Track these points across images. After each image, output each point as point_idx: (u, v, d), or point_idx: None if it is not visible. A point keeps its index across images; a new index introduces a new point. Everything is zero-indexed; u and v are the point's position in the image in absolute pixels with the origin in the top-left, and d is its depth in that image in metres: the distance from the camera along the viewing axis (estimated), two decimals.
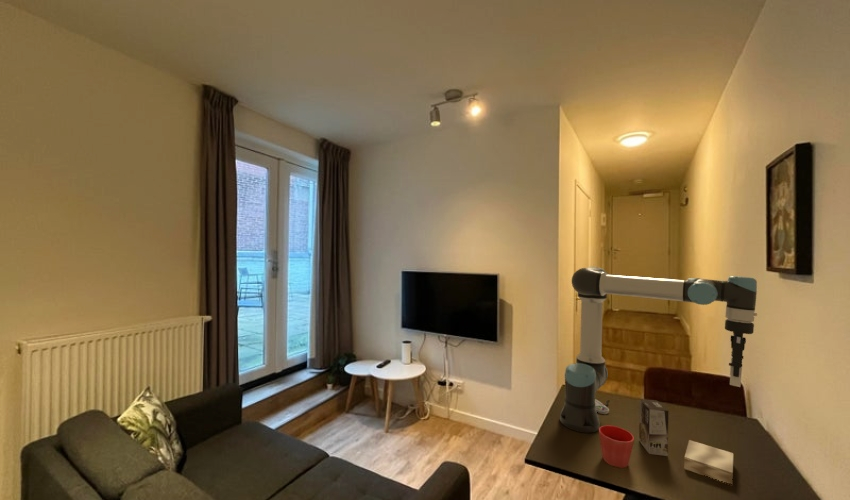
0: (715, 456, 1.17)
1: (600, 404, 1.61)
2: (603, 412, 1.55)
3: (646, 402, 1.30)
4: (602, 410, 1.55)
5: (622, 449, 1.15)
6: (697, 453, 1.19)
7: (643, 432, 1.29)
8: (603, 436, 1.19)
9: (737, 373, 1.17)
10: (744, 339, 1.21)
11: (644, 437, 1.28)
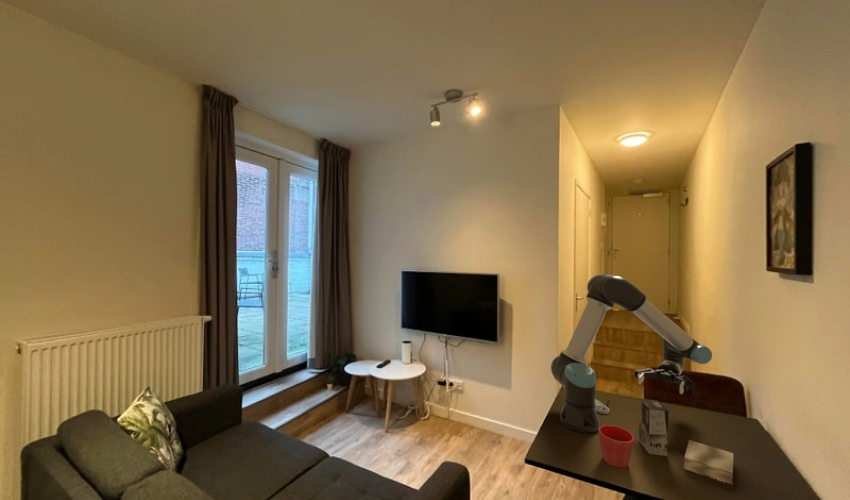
0: (715, 456, 1.17)
1: (600, 404, 1.61)
2: (603, 412, 1.55)
3: (646, 402, 1.30)
4: (602, 410, 1.55)
5: (622, 449, 1.15)
6: (697, 453, 1.19)
7: (643, 432, 1.29)
8: (603, 436, 1.19)
9: (687, 388, 1.33)
10: None
11: (644, 437, 1.28)
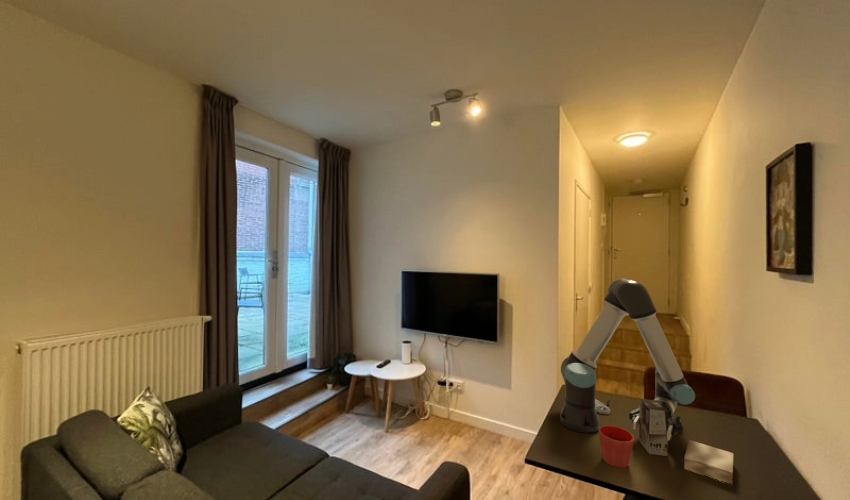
0: (715, 456, 1.17)
1: (601, 404, 1.61)
2: (604, 412, 1.54)
3: (646, 402, 1.30)
4: (603, 410, 1.55)
5: (622, 449, 1.15)
6: (697, 453, 1.19)
7: (643, 432, 1.29)
8: (603, 436, 1.19)
9: (675, 433, 1.24)
10: None
11: (644, 437, 1.28)
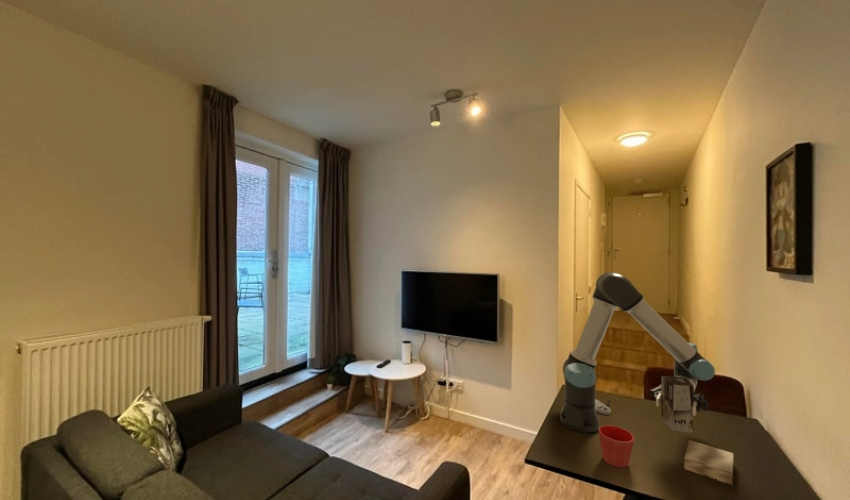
0: (715, 456, 1.17)
1: (601, 404, 1.61)
2: (605, 412, 1.54)
3: (669, 378, 1.26)
4: (604, 410, 1.55)
5: (622, 449, 1.15)
6: (697, 453, 1.19)
7: (666, 409, 1.25)
8: (603, 436, 1.19)
9: (700, 409, 1.20)
10: None
11: (667, 414, 1.24)
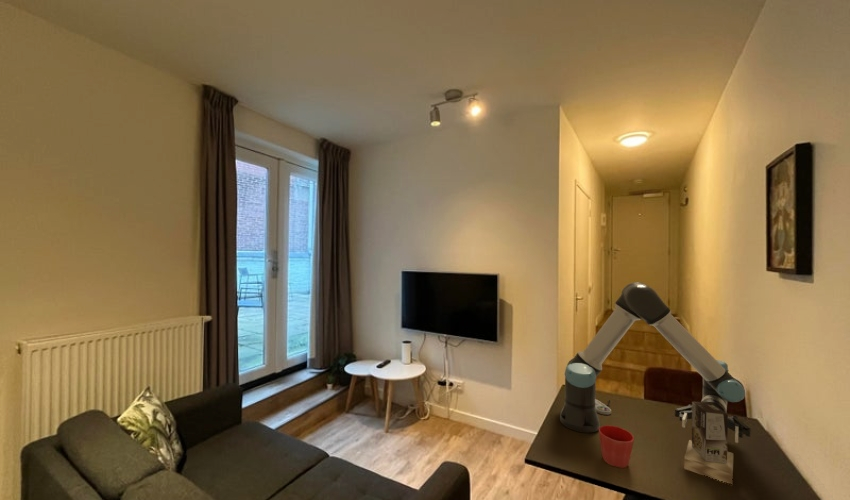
0: None
1: (602, 404, 1.61)
2: (605, 413, 1.54)
3: (701, 404, 1.20)
4: (604, 411, 1.55)
5: (622, 449, 1.15)
6: (697, 453, 1.19)
7: (697, 437, 1.19)
8: (603, 436, 1.19)
9: None
10: None
11: (699, 443, 1.18)
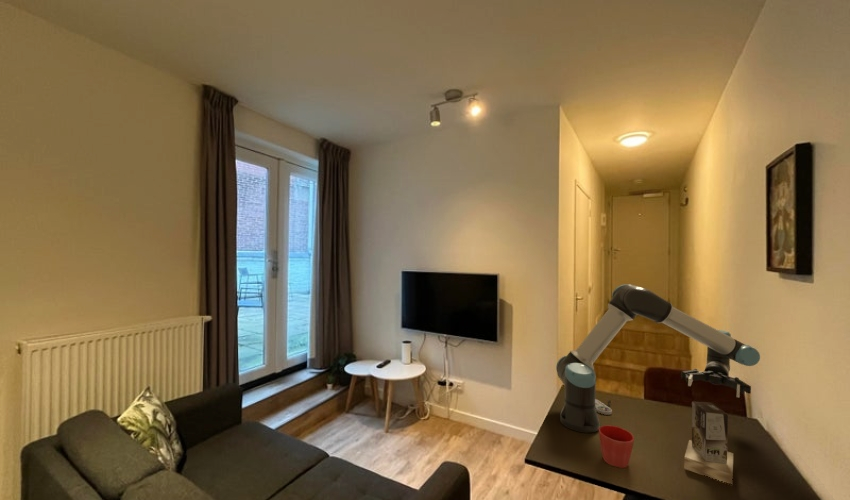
0: None
1: (602, 405, 1.61)
2: (606, 413, 1.54)
3: (701, 404, 1.20)
4: (605, 411, 1.55)
5: (622, 449, 1.15)
6: (697, 453, 1.19)
7: (697, 437, 1.19)
8: (603, 436, 1.19)
9: (743, 392, 1.24)
10: None
11: (699, 443, 1.18)
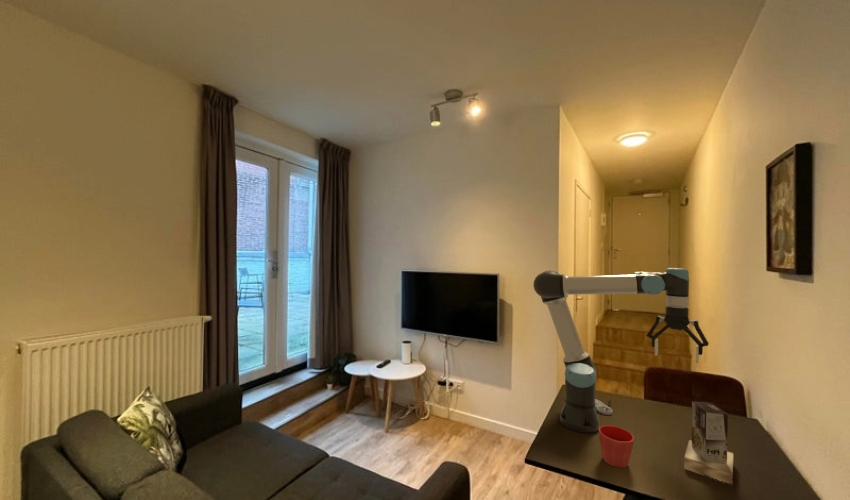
0: None
1: (603, 405, 1.61)
2: (607, 413, 1.54)
3: (701, 404, 1.20)
4: (606, 411, 1.55)
5: (622, 449, 1.15)
6: (697, 453, 1.19)
7: (697, 437, 1.19)
8: (603, 436, 1.19)
9: (702, 351, 1.36)
10: None
11: (699, 443, 1.18)
